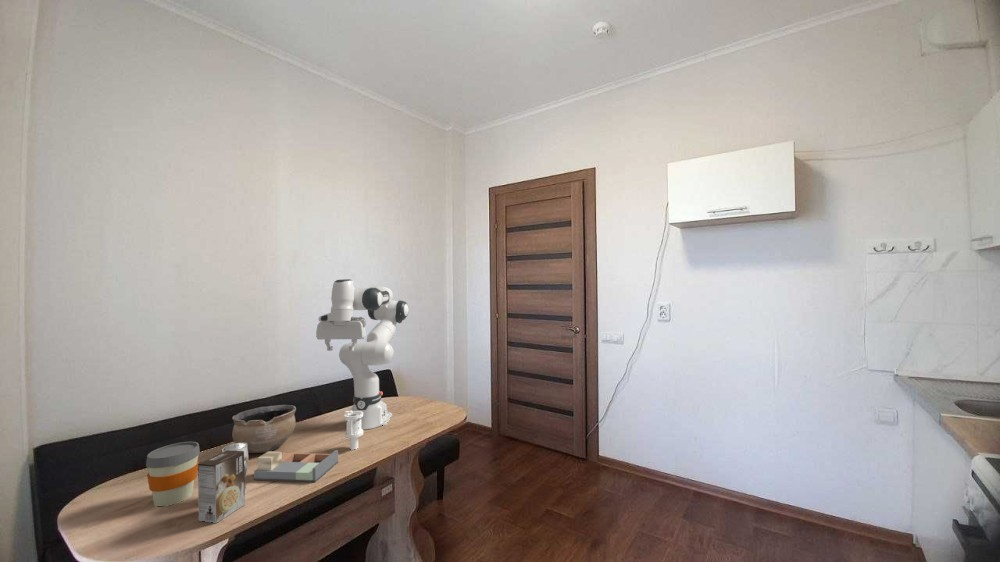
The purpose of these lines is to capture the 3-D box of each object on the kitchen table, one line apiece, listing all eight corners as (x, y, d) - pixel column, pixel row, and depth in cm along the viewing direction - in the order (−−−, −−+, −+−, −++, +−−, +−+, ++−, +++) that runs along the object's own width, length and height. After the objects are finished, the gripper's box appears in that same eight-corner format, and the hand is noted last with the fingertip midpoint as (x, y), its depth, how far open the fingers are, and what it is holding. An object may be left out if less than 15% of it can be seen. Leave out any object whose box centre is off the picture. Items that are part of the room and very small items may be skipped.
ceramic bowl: (224, 465, 135) (224, 424, 135) (238, 443, 155) (238, 407, 155) (293, 453, 144) (293, 415, 145) (298, 434, 164) (298, 400, 164)
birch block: (268, 462, 130) (268, 451, 130) (281, 463, 130) (281, 451, 130) (257, 469, 125) (257, 457, 125) (271, 470, 125) (271, 458, 125)
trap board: (282, 460, 138) (282, 448, 138) (338, 462, 136) (338, 450, 136) (254, 480, 124) (254, 466, 124) (315, 482, 122) (315, 468, 122)
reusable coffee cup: (172, 487, 120) (172, 441, 121) (210, 487, 120) (210, 441, 120) (133, 510, 108) (133, 458, 108) (174, 510, 107) (175, 458, 108)
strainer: (349, 444, 151) (349, 408, 152) (366, 444, 151) (366, 408, 152) (341, 452, 144) (341, 413, 145) (359, 452, 144) (358, 413, 145)
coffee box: (227, 502, 111) (227, 449, 111) (245, 504, 110) (245, 450, 110) (197, 521, 102) (197, 463, 102) (216, 524, 101) (216, 465, 101)
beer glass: (224, 492, 117) (224, 444, 117) (250, 487, 120) (250, 440, 120) (218, 503, 111) (218, 453, 111) (245, 498, 113) (245, 449, 114)
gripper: (369, 317, 156) (368, 350, 154) (323, 317, 158) (322, 350, 156) (362, 316, 150) (360, 351, 148) (314, 317, 152) (313, 351, 150)
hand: (340, 350), depth 152 cm, fingers open, 8 cm apart
